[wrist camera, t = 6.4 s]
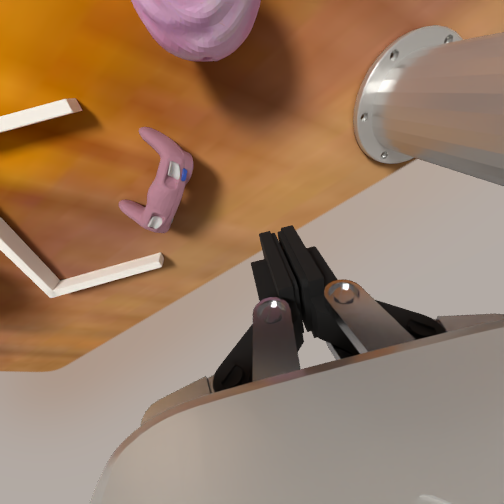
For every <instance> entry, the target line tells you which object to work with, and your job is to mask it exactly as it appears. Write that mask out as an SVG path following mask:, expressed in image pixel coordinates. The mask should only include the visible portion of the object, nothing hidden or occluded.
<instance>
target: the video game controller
mask: <svg viewBox="0 0 504 504" xmlns="http://www.w3.org/2000/svg"><path fill="white" fill-rule="evenodd" d="M139 134H140V136H141V137H142V138H143V140H144V141H145V142H147V143H148V144H149V145H150V146H151V147H153V149H154V150H155V151H156V152H157V153H158V154H159V155H160V157H161V160H160V164H159V167H158V171H157V175H156V178H155V180H154V181H153V183H152V184H151V186H150V188H149V191H148V194H147V205H146V207H144V206H142V205H140V204H138V203H136V202H133V201H130V200H121V201H120V202H119V207H120V209H121V210H122V212H123V213H125V214H126V215H127V216H128V217H130V218H131V219H133V220H134V221H135V222H137V223H138V224H139V225H140V226H142V227H143V228H145V229H147V230H150V231H153V232H158V233H166V232H167V231H168V230H169V228H170V226H171V223H172V221H173V217H174V215H175V213H176V211H177V209H178V206H179V204H180V201H181V198H182V195H183V192H184V188H185V185H186V184H187V183H188V181H189V180H190V178H191V175H192V171H193V158H192V156H191V154H190V153H188V152H186V151H183V149H182V148H181V147H180V146H179V145H178V144H176V143H175V142H174V141H173V140H171V139H170V138H169V137H167V136H166V135H164V134H162V133H161V132H159V131H157V130H155V129H152V128H149V127H141V128H140V129H139Z"/></svg>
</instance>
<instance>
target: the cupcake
mask: <svg viewBox="0 0 504 504" xmlns="http://www.w3.org/2000/svg"><path fill="white" fill-rule="evenodd" d="M131 1H132V3H133V5H134V7H135V9H136V11H137V13H138V15H139V17H140V18H141V20H142V22H143V23H144V25H145V26H146V28H147V29H148V31H149V32H150V34H151V35H152V37H153V38H154V39H155V40H156V41H157V43H158V44H159V45H160V46H162V47H163V48H164V49H165V50H166V51H168V52H170V53H171V54H173V55H175V56H177V57H180V58H182V59H186V60H190V61H218V60H220V59H222V58H225V57H226V56H228V55H230V54H231V53H233V52H234V51H235V50H236V49H237V48H238V47H239V46H240V45H241V44H242V43H243V42H244V40H245V39H246V38H247V36H248V35H249V33H250V31H251V29H252V27H253V25H254V22H255V19H256V16H257V13H258V10H259V6H260V2H261V0H131Z"/></svg>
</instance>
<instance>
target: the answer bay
mask: <svg viewBox="0 0 504 504" xmlns="http://www.w3.org/2000/svg"><path fill="white" fill-rule="evenodd" d="M79 111H82V109H81V107H80V105H79V103H78V102H77V100H76V98H72V99H63V100H60V101H56V102H52V103H49V104H45V105H41V106H38V107H34V108H30V109H26V110H23V111H19V112H15V113H12V114H8V115H4V116H1V117H0V133H2V132H5V131H9V130H13V129H17V128H20V127H24V126H28V125H31V124H35V123H39V122H42V121H46V120H50V119H53V118H57V117H61V116H64V115H68V114H72V113H75V112H79ZM0 250H1V251H2V252H3V253H4V254H5V255H6V256H7V257H8V258H9V259H11V260H12V261H13V262H14V263H15V264H16V265H17V266H18V267H19V268H20V269H21V270H22V271H23V272H24V273H25V274H26V275H27V276H28V277H29V278H30V279H31V280H32V281H33V282H34V283H35V284H36V285H37V286H38V287H40V288H41V289H42V290H43V291H44V292H45V293H46V294H47V295H48V296H49V297H50V298H53V297H57V296H60V295H64V294H67V293H71V292H74V291H78V290H81V289H85V288H89V287H92V286H96V285H99V284H103V283H106V282H110V281H114V280H117V279H121V278H124V277H128V276H131V275H135V274H139V273H142V272H146V271H149V270H153V269H156V268H160V267H162V265H163V260H164V257H163V255H162V254H161V253H157V254H154V255H150V256H146V257H143V258H139V259H136V260H132V261H129V262H125V263H121V264H118V265H114V266H111V267H107V268H103V269H100V270H96V271H93V272H89V273H86V274H82V275H78V276H75V277H71V278H68V279H64V280H61V281H60V280H59V279H58V278H57V276H56V275H55V274H54V273H53V272H52V271H51V270H50V269H49V268H48V267H47V266H46V265H45V264H44V263H43V262H42V261H41V259H40V258H39V257H38V256H37V255H36V254H35V253H34V252H33V251H32V250H31V249H30V248H29V247H28V246H27V245H26V244H25V242H24V241H23V240H22V239H21V238H20V237H19V236H18V235H17V234H16V233H15V232H14V231H13V230H12V229H11V228H10V227H9V226H8V224H7V223H6V222H5V221H4V220H3V219H2V218H1V217H0Z"/></svg>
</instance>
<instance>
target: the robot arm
mask: <svg viewBox="0 0 504 504" xmlns="http://www.w3.org/2000/svg"><path fill="white" fill-rule="evenodd" d="M390 55H391V56H390ZM361 116H362V118H361ZM353 124H354V133H355V136H356V139H357V142H358V144H359V146H360V148H361V149H362V151H363V152H364V153H365V154H366V155H367V156H369V157H371V158H372V159H374V160H376V161H379V162H382V163H388V164H394V163H401V162H405V161H408V160H411V159H413V158H417V159H420V160H424V161H427V162H430V163H433V164H436V165H439V166H442V167H445V168H449V169H452V170H455V171H458V172H461V173H464V174H467V175H470V176H473V177H477V178H480V179H483V180H486V181H489V182H492V183H495V184H499V185H502V186H504V32H502V33H497V34H491V35H486V36H481V37H476V38H471V39H465V40H463V39H462V38H461V37H460V36H459V34H458V33H457V32H456V31H454V30H452V29H450V28H448V27H444V26H438V25H434V26H427V27H422V28H419V29H416V30H413V31H410V32H408V33H406V34H405V35H403V36H401V37H399V38H398V39H397V40H395V41H394V42H393V43H391V44H390V45H389V46H388V47H387V48H386V49H385V50H384V51H383V52H382V53H381V54H380V55H379V56H378V57H377V59H376V60H375V62H374V63H373V64H372V66H371V67H370V69H369V70H368V72H367V74H366V76H365V78H364V80H363V82H362V84H361V87H360V89H359V92H358V95H357V98H356V103H355V107H354V118H353ZM259 237H260V241H261V246H262V250H263V254H264V260H259V261H256V262H252V263H251V266H252V270H253V275H254V279H255V283H256V287H257V292H258V296H259V300H260V302H259V303H258V304H257V305H256V306H255V308H254V310H253V324H252V325H251V327H250V328H249V329H248V330H247V332H246V333H245V334H244V336H243V337H242V338H241V340H240V341H239V342H238V343H237V345H236V346H235V347H234V348H233V350H232V351H231V352H230V354H229V355H228V356H227V357H226V359H225V360H224V361H223V363H222V364H221V365H220V366H219V368H218V369H217V371H216V373H215V375H213V376H211V377H209V378H207V377H206V376H205V377H203V378H201V379H199V380H197V381H195V382H193V383H191V384H189V385H187V386H185V387H183V388H181V389H179V390H177V391H175V392H173V393H171V394H169V395H167V396H166V397H163V398H161V399H159V400H158V401H156V402H155V403H153V404H152V405H151V406H150V407H149V408H148V409H147V411H146V412H145V414H144V416H143V418H142V421H141V427H139V428H138V429H137V430H136V431H134V432H133V433H132V434H131V435H130V436H129V437H128V438H127V439H126V440H124V441H123V442H122V443H121V445H119V447H118V448H117V449H116V450H115V451H114V453H113V454H112V455H111V457H110V459H109V461H108V462H107V464H106V466H105V467H104V469H103V472H102V474H101V476H100V478H99V480H98V483H97V485H96V488H95V490H94V493H93V495H92V498H91V501H90V504H504V314H478V315H460V316H459V315H457V316H438V317H437V319H434V320H433V319H432V318H429V317H427V316H425V315H422V314H419V313H416V312H412V311H409V310H406V309H403V308H399V307H396V306H393V305H390V304H387V303H383V302H380V301H376V300H374V299H373V298H372V297H371V296H370V295H369V294H368V293H367V292H366V291H365V290H364V289H363V288H362V287H361V286H360V285H358V284H357V283H355V282H353V281H350V280H337V278H336V277H335V275H334V274H333V272H332V271H331V269H330V268H329V266H328V265H327V263H326V262H325V260H324V259H323V257H322V256H321V254H320V253H319V251H318V250H317V248H316V247H310V248H306V247H305V246H304V244H303V242H302V241H301V239H300V237H299V236H298V234H297V232H296V231H295V229H294V227H293V226H292V225H291V226H287V227H283V228H281V231H280V232H278V238H279V241H278V239H277V237H276V235H275V233H272V234H271V233H270V231H268V232H264V233H260V234H259ZM302 320H303V321H302ZM303 323H304V325H305V328H306V330H307V332H309V331H312V334H313V336H314V338H316V337H318V338H320V339H322V340H324V341H326V343H327V346H328V348H329V349H330V351H331V352H332V354H333V355H334V357H335V359H336V360H335V361H331V362H328V363H324V364H320V365H317V366H312V367H308V368H304V369H301V370H300V364H299V358H298V351H299V349H300V347H301V345H302V344H303V342H304V340H303V334H302V333H304V328H303Z"/></svg>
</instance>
